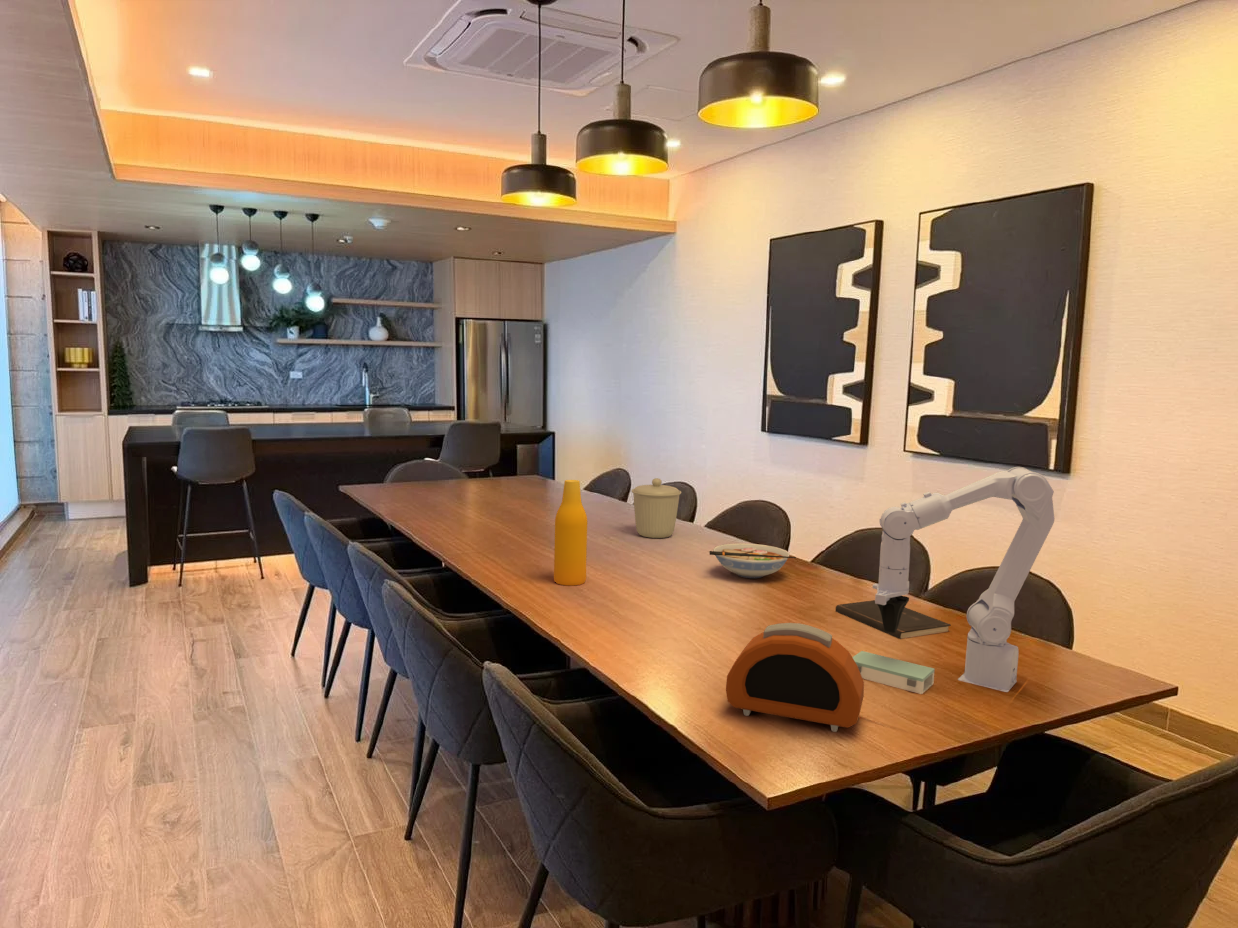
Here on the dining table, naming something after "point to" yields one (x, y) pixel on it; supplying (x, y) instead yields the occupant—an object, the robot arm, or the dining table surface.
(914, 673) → the panel
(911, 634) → the hardcover book
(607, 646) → the dining table surface
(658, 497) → the canister
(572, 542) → the beer bottle
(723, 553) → the ramen bowl
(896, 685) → the cream piece
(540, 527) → the dining table surface
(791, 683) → the alarm clock
